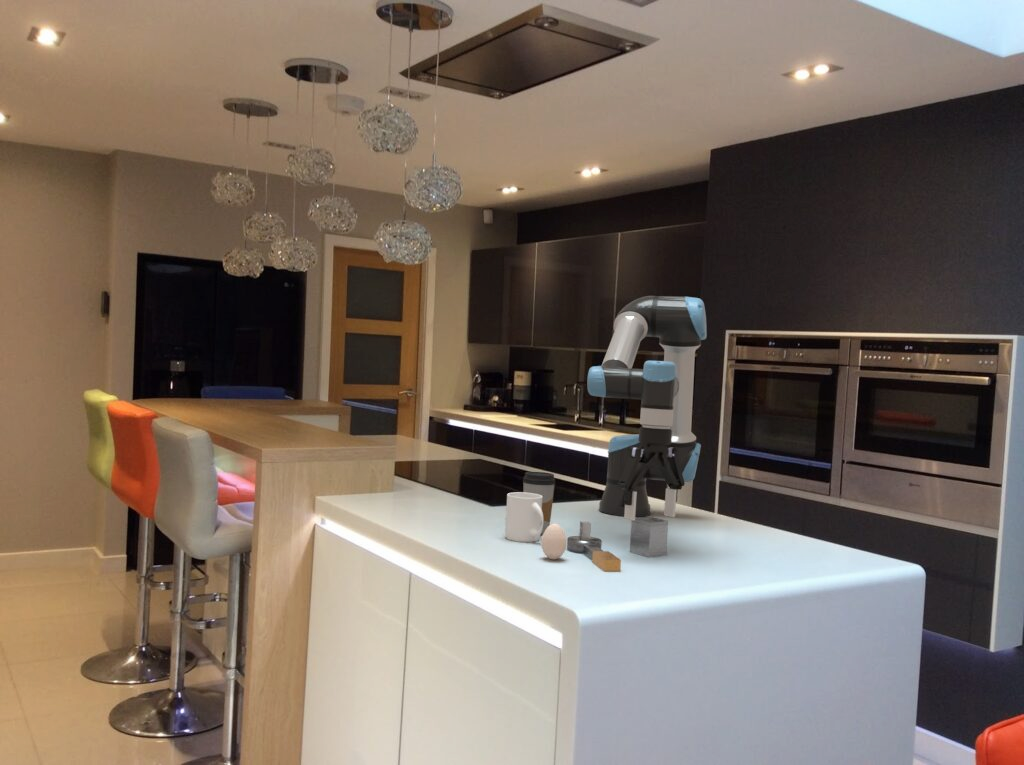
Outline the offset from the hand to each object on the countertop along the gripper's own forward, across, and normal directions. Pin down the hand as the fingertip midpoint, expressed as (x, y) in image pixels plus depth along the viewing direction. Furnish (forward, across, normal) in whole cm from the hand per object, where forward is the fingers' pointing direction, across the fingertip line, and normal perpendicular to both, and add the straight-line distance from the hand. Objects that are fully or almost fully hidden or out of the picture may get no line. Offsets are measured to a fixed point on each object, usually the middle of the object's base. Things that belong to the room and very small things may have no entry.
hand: (649, 517), depth 199 cm
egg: (+9, +25, -5) cm, 27 cm away
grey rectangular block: (+8, 0, 0) cm, 8 cm away
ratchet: (+9, +15, -2) cm, 17 cm away
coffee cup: (+8, +10, -29) cm, 32 cm away
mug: (+9, +18, -23) cm, 30 cm away
